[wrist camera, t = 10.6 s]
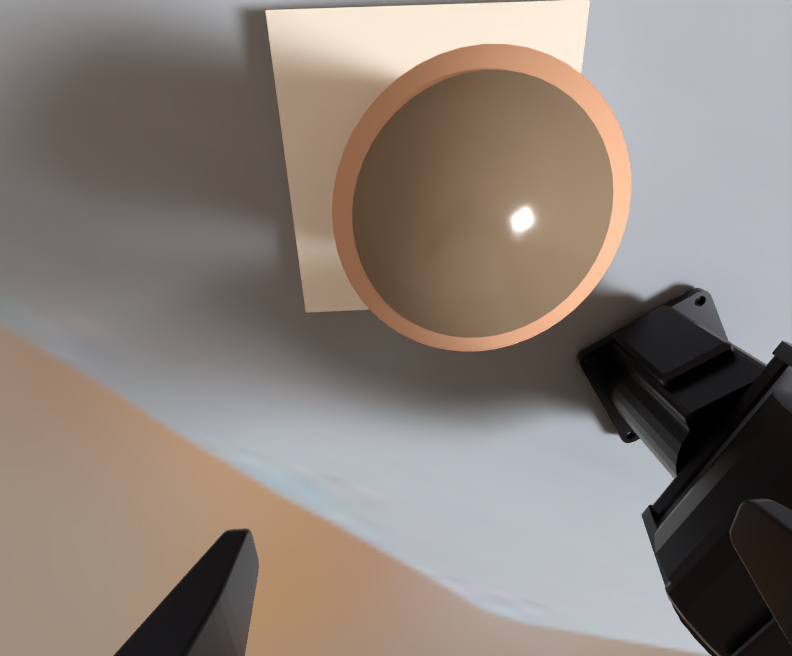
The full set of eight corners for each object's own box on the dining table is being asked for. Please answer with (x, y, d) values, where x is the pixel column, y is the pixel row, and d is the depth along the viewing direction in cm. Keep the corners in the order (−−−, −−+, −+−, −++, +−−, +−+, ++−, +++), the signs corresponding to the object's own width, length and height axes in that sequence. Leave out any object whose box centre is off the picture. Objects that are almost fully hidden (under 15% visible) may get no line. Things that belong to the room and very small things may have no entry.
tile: (545, 294, 20) (552, 300, 19) (308, 305, 20) (305, 312, 19) (579, 5, 15) (590, -1, 15) (270, 15, 15) (265, 10, 14)
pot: (533, 197, 17) (675, 257, 9) (409, 278, 19) (435, 397, 10) (457, 51, 15) (554, -45, 7) (322, 155, 16) (266, 179, 8)
